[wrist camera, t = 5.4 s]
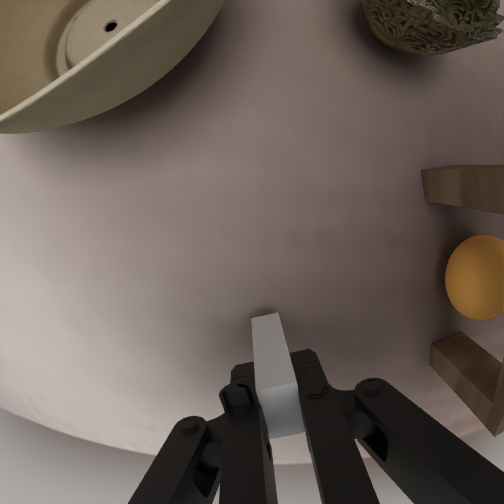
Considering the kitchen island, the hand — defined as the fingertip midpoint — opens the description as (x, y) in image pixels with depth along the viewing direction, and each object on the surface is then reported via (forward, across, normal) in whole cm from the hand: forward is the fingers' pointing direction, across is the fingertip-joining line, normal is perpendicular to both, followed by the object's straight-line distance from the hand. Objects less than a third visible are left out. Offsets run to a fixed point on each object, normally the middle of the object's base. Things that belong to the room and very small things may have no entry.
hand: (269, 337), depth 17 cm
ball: (-1, -14, 0) cm, 14 cm away
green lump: (+2, -12, -17) cm, 21 cm away
